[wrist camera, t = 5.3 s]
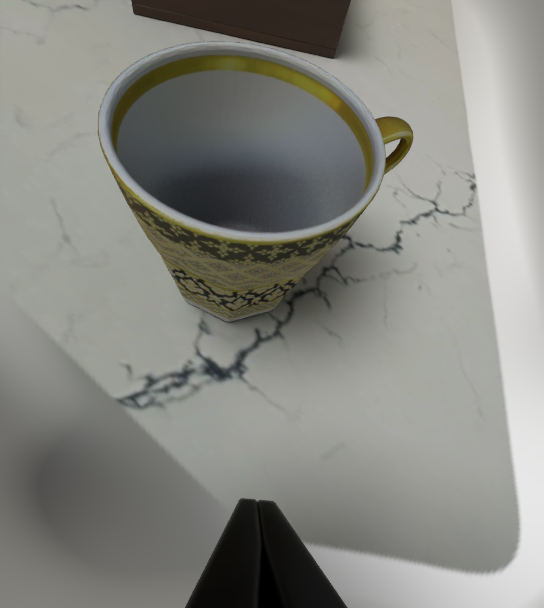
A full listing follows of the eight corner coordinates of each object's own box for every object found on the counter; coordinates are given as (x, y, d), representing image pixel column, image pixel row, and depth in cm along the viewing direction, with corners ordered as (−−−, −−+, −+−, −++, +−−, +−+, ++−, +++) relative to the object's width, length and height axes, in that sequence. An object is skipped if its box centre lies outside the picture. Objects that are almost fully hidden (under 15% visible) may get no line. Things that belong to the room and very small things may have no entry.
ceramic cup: (169, 374, 18) (129, 272, 9) (131, 222, 21) (76, 42, 13) (381, 310, 21) (502, 195, 13) (318, 190, 25) (377, 35, 16)
